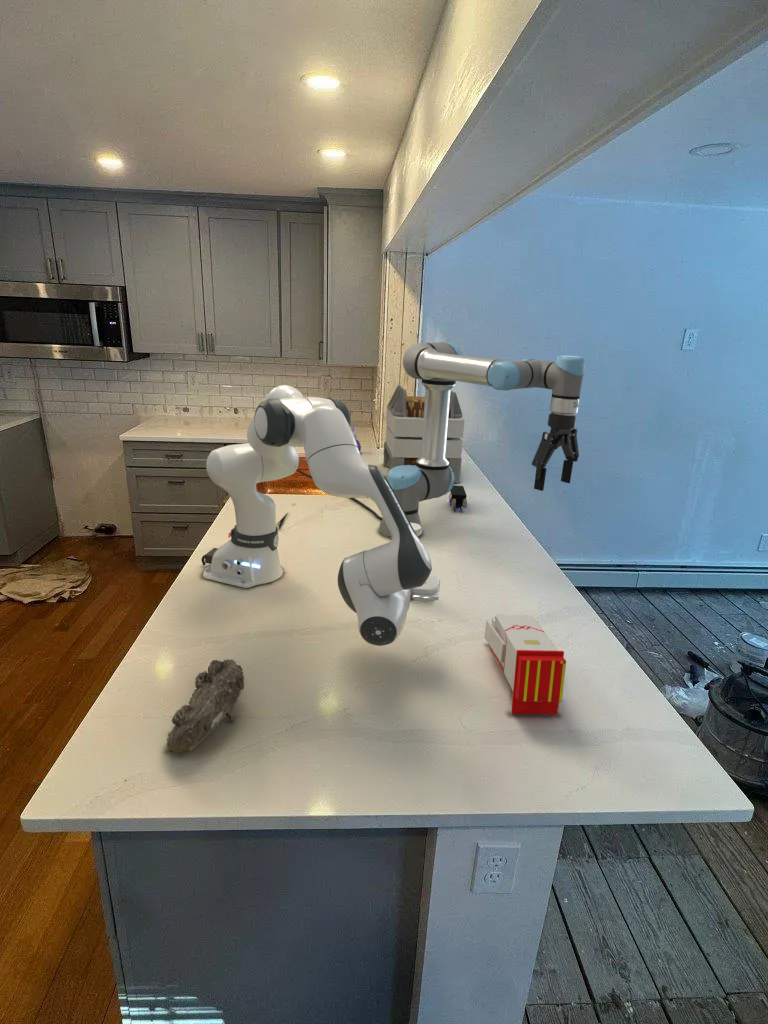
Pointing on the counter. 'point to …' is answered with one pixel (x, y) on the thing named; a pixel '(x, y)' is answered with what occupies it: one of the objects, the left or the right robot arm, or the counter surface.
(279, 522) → the feather
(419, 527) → the lid
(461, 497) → the figurine character
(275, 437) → the left robot arm
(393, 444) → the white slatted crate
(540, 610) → the counter surface
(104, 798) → the counter surface
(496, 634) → the toy
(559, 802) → the counter surface
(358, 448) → the figurine
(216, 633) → the counter surface
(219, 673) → the fossil
